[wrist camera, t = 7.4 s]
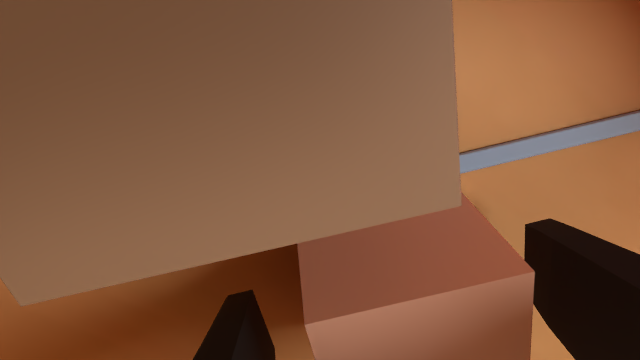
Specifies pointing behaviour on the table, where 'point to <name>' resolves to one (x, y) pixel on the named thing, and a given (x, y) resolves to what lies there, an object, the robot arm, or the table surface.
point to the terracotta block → (418, 291)
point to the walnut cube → (213, 131)
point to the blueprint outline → (549, 141)
